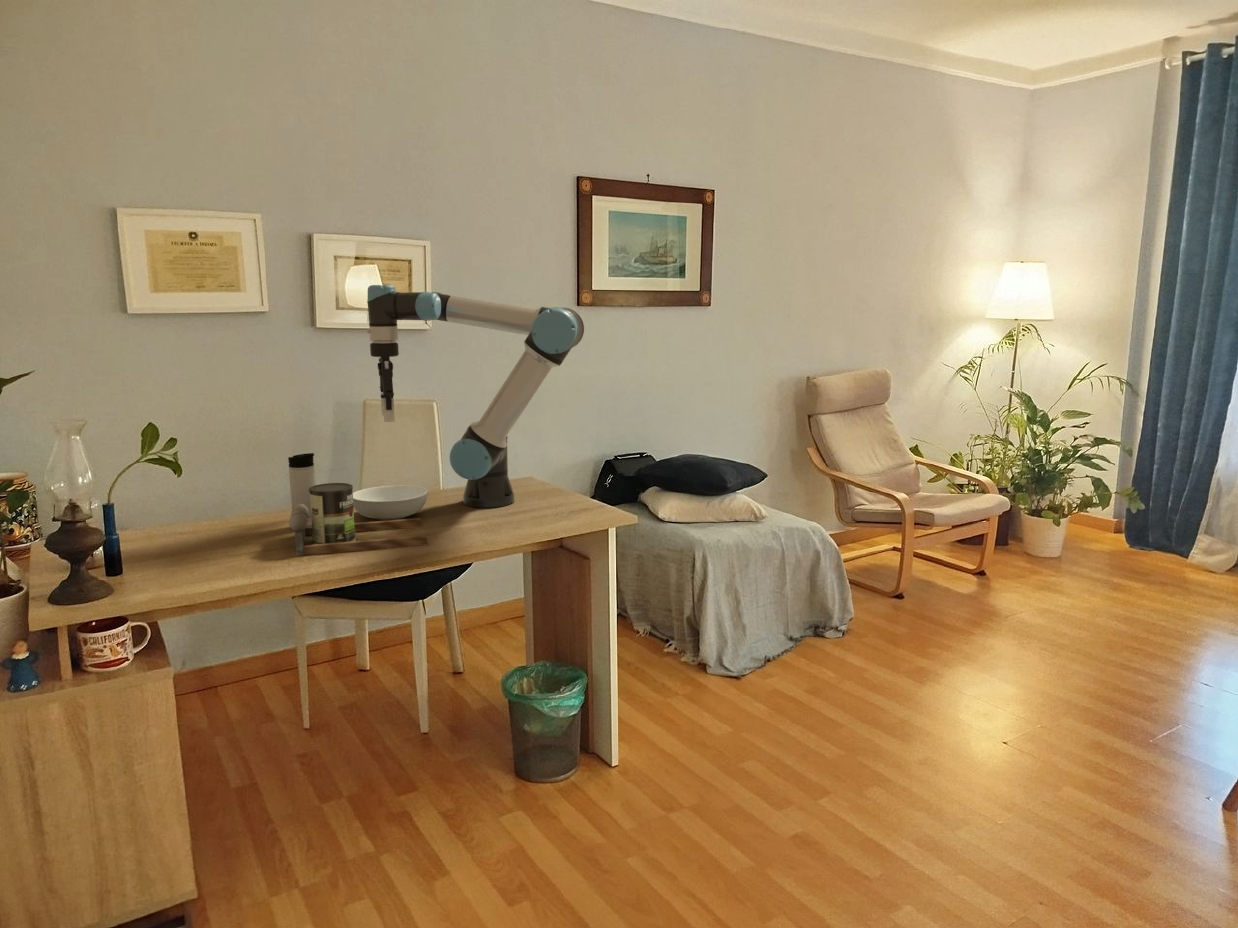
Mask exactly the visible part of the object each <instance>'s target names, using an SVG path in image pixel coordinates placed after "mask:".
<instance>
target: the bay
mask: <svg viewBox="0 0 1238 928" xmlns="http://www.w3.org/2000/svg"><path fill="white" fill-rule="evenodd" d="M307 520H308V508H307V506H305V505H304V504H297V505H295V506H294V507H293V508H292V507H291V513H290V516H289V528H290V529H291V530H292V531H294V543H295V555H296V557H299V556H300V557H301V556H309V555H320V554H332V553H333V554H334V553H343V552H345V553H346V552H352V551H353V552H357V551H368V550H369V551H370V550H378V549H379V550H380V549H388V548H390V549H391V548H401V547H403V548H404V547H412V546H413V545H415V546H423V544H427V545H428V535H427V534H421V535H411V536H410V535H409V536H399V537H398V536H397V537H389V538H388V537H385V538H376V539H364V540H363V539H362V540H355V541H350V542H338V543H326V544H305V541H306V537H309V536H311V537H312V536H313V532H312V526H310V527H306V526H307ZM421 523H422V521H421V518H420V517H418V518H417V517H414V518H401V519H396V520H378V521H376V520H375V521H365V522H362V521H361V522H354V526H355V533H358V531H360V532H369V531H370V532H371V531H373V532H374V531H383V530H385V531H386V530H395V529H408V528H421V527H422V525H421ZM413 547H414V546H413Z"/></svg>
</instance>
